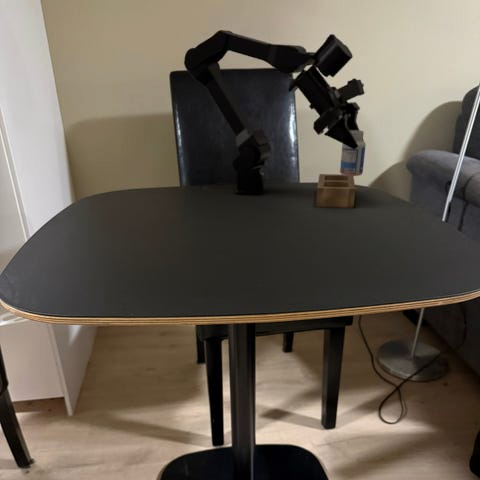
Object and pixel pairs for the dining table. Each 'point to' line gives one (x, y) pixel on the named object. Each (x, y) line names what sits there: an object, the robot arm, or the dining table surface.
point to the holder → (335, 191)
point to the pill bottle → (353, 156)
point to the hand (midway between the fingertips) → (359, 146)
